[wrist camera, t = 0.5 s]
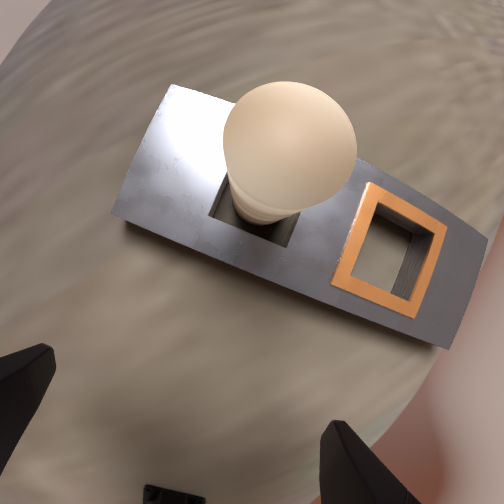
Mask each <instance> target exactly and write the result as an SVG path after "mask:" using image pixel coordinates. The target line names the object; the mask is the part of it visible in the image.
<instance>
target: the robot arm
mask: <svg viewBox="0 0 504 504" xmlns="http://www.w3.org/2000/svg"><path fill="white" fill-rule="evenodd" d="M55 371H56V362H55V355H54V350H53V348H52V347H51V346H48V345H46V344H44V343H40V344H37V345H35V346H32V347H29V348H26V349H23V350H20V351H18V352H15V353H12V354H9V355H6V356H3V357H0V475H1V473H2V471H3V469H4V468H5V466H6V464H7V462H8V460H9V458H10V456H11V454H12V452H13V451H14V449H15V447H16V445H17V443H18V441H19V440H20V438H21V436H22V434H23V433H24V431H25V429H26V427H27V426H28V424H29V422H30V421H31V419H32V417H33V416H34V414H35V412H36V411H37V409H38V407H39V405H40V403H41V401H42V399H43V397H44V395H45V392H46V390H47V388H48V386H49V384H50V382H51V380H52V378H53V376H54V374H55ZM319 481H320V493H321V504H421V503H420V502H419V501H418V500H417V499H416V498H415V497H414V496H413V495H412V494H411V493H410V492H409V491H407V488H406V487H405V486H404V485H403V484H402V483H401V482H400V481H399V480H398V479H397V478H396V477H395V476H394V475H393V474H392V473H391V471H390V470H389V469H388V468H387V467H386V466H385V465H384V464H383V463H382V462H381V461H380V460H379V458H377V456H376V455H375V454H374V453H373V452H372V451H371V450H370V449H369V447H368V446H367V445H366V444H365V443H364V442H363V441H362V440H361V439H360V437H359V436H358V435H357V434H356V433H355V432H354V431H353V430H352V429H351V427H350V426H349V425H348V424H347V423H346V422H345V421H341V420H332V421H331V422H330V423H329V425H328V427H327V428H326V430H325V431H324V433H323V434H322V436H321V440H320V473H319ZM143 504H205V499H204V498H202V497H197V496H192V495H187V494H183V493H178V492H174V491H170V490H166V489H162V488H158V487H154V486H151V485H145V486H144V493H143Z"/></svg>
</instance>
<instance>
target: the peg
mask: <svg viewBox="0 0 504 504" xmlns="http://www.w3.org/2000/svg"><path fill="white" fill-rule="evenodd" d="M222 145H223V153H224V158H225V163H226V168H227V173H228V178H229V184H230V189H231V194H232V199H233V204H234V207H235V210H236V212H237V214H238V215H239V216H240V217H241V218H242V219H243V220H244V221H246V222H247V223H249V224H252V225H256V226H265V225H269V224H272V223H274V222H276V221H279V220H281V219H284V218H286V217H288V216H291V215H293V214H296V213H298V212H300V211H303V210H305V209H308V208H310V207H313V206H315V205H317V204H320V203H322V202H324V201H326V200H328V199H330V198H331V197H332V196H334V195H335V194H337V193H338V192H339V191H340V190H341V189H342V188H343V186H344V185H345V184H346V182H347V181H348V179H349V177H350V176H351V174H352V171H353V169H354V166H355V161H356V154H357V145H356V138H355V133H354V130H353V127H352V125H351V123H350V121H349V119H348V117H347V115H346V114H345V112H344V111H343V110H342V108H341V107H340V106H339V105H338V104H337V103H336V102H335V101H334V100H333V99H332V98H330V97H329V96H328V95H326V94H325V93H323V92H321V91H320V90H318V89H316V88H313V87H311V86H308V85H305V84H301V83H296V82H274V83H269V84H265V85H262V86H260V87H257V88H255V89H253V90H251V91H250V92H248V93H247V94H245V95H244V96H243V97H242V98H241V99H240V100H239V101H238V102H237V103H236V104H235V105H234V106H233V108H232V109H231V111H230V113H229V115H228V116H227V119H226V122H225V124H224V129H223V136H222Z"/></svg>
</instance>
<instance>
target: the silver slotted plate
mask: <svg viewBox="0 0 504 504" xmlns="http://www.w3.org/2000/svg"><path fill="white" fill-rule="evenodd" d="M234 105H235V104H233V103H230V102H227V101H224V100H221V99H218V98H215V97H212V96H209V95H206V94H203V93H200V92H196V91H193V90H190V89H186V88H183V87H180V86H176V85H173V84H172V85H171V86H170V88H169V90H168V92H167V93H166V95H165V97H164V99H163V101H162V102H161V104H160V106H159V108H158V110H157V112H156V114H155V116H154V118H153V120H152V121H151V123H150V125H149V127H148V129H147V131H146V133H145V135H144V138H143V140H142V142H141V144H140V146H139V148H138V150H137V152H136V154H135V157H134V159H133V161H132V163H131V165H130V168H129V170H128V172H127V175H126V177H125V179H124V182H123V184H122V186H121V189H120V191H119V194H118V196H117V199H116V201H115V204H114V206H113V209H112V212H111V214H113V215H115V216H117V217H120V218H122V219H124V220H126V221H129V222H131V223H133V224H136V225H138V226H140V227H143V228H145V229H147V230H150V231H152V232H154V233H157V234H159V235H161V236H164V237H166V238H168V239H171V240H173V241H175V242H178V243H180V244H182V245H185V246H187V247H190V248H192V249H194V250H197V251H199V252H201V253H204V254H206V255H209V256H211V257H213V258H216V259H218V260H221V261H223V262H225V263H228V264H230V265H233V266H235V267H237V268H240V269H242V270H245V271H247V272H250V273H252V274H255V275H257V276H259V277H262V278H264V279H267V280H269V281H272V282H274V283H277V284H279V285H282V286H284V287H287V288H289V289H292V290H294V291H297V292H299V293H302V294H304V295H307V296H309V297H312V298H314V299H317V300H319V301H322V302H324V303H327V304H329V305H332V306H334V307H337V308H339V309H342V310H345V311H347V312H350V313H352V314H355V315H357V316H360V317H363V318H365V319H368V320H370V321H373V322H376V323H378V324H381V325H383V326H386V327H389V328H391V329H394V330H396V331H399V332H402V333H404V334H407V335H410V336H412V337H415V338H418V339H420V340H423V341H426V342H428V343H431V344H434V345H436V346H439V347H442V348H445V349H448V350H449V349H450V346H451V344H452V342H453V340H454V337H455V335H456V333H457V331H458V328H459V326H460V323H461V321H462V318H463V316H464V313H465V311H466V308H467V305H468V303H469V300H470V297H471V295H472V292H473V289H474V286H475V283H476V280H477V277H478V274H479V271H480V267H481V264H482V261H483V257H484V254H485V250H486V246H487V243H488V239H487V238H486V237H485V236H483V235H482V234H481V233H479V232H478V231H477V230H475V229H474V228H472V227H471V226H470V225H468V224H467V223H465V222H464V221H463V220H461V219H460V218H458V217H457V216H455V215H454V214H452V213H451V212H449V211H448V210H446V209H445V208H443V207H442V206H440V205H439V204H437V203H436V202H434V201H433V200H431V199H429V198H428V197H426V196H425V195H423V194H421V193H420V192H418V191H416V190H415V189H413V188H411V187H410V186H408V185H406V184H405V183H403V182H401V181H400V180H398V179H396V178H394V177H393V176H391V175H389V174H387V173H386V172H384V171H382V170H380V169H378V168H376V167H375V166H373V165H371V164H369V163H367V162H365V161H363V160H361V159H359V158H358V157H356V161H355V166H354V169H353V171H352V174H351V176H350V177H349V179H348V181H347V182H346V184H345V185H344V186H343V188H342V189H341V190H340V191H339V192H338V193H337V194H335V195H334V196H332V197H331V198H330V199H328V200H326V201H324V202H322V203H320V204H317V205H315V206H313V207H310V208H308V209H305V210H303V211H300V212H298V213H296V214H294V215H293V217H292V219H291V222H290V224H289V227H288V229H287V232H286V234H285V236H284V239H283V241H282V244H281V246H279V245H277V244H275V243H272V242H270V241H267V240H265V239H263V238H260V237H258V236H255V235H253V234H251V233H248V232H246V231H243V230H241V229H239V228H236V227H234V226H231V225H229V224H227V223H224V222H222V221H219V220H217V219H214V218H212V217H213V215H214V212H215V210H216V208H217V205H218V203H219V201H220V198H221V196H222V194H223V191H224V189H225V187H226V184H227V182H228V180H229V178H228V173H227V168H226V163H225V158H224V153H223V145H222V136H223V129H224V124H225V122H226V119H227V116H228V115H229V113H230V111H231V109H232V108H233V106H234ZM374 213H376V214H378V215H379V216H381V217H383V218H385V219H387V220H389V221H391V222H393V223H395V224H396V225H398V226H400V227H402V228H404V229H406V230H407V231H409V232H411V233H413V235H412V238H411V241H410V244H409V247H408V250H407V253H406V255H405V258H404V261H403V264H402V266H401V269H400V272H399V274H398V277H397V279H396V282H395V284H394V287H393V289H392V292H391V293H389V292H386V291H384V290H382V289H379V288H377V287H375V286H373V285H370V284H368V283H366V282H363V281H361V280H359V279H357V278H354V277H352V276H350V274H351V271H352V269H353V267H354V264H355V262H356V259H357V257H358V254H359V251H360V249H361V246H362V244H363V241H364V238H365V236H366V233H367V230H368V228H369V225H370V222H371V219H372V217H373V214H374Z"/></svg>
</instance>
